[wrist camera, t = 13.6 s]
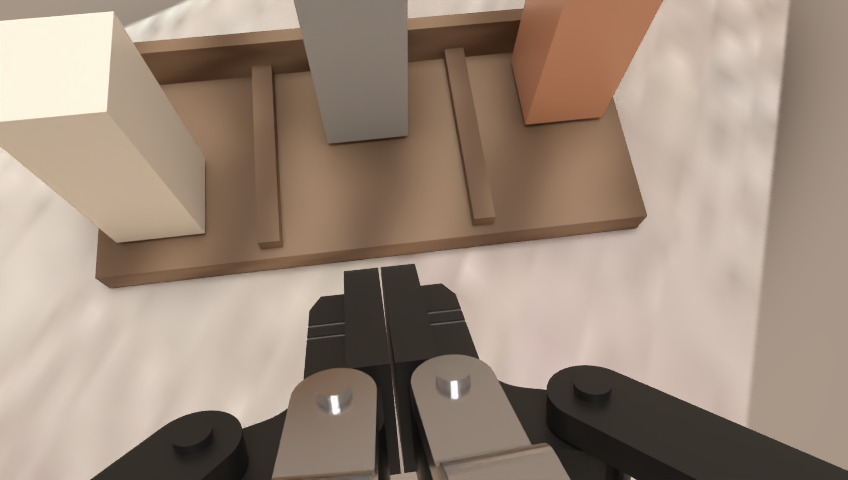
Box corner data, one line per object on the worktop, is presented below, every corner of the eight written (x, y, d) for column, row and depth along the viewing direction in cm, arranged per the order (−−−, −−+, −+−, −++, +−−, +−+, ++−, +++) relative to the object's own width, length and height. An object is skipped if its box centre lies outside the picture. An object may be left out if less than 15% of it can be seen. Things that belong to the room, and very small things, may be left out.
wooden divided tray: (110, 288, 29) (66, 259, 26) (121, 95, 33) (85, 46, 30) (636, 227, 31) (667, 192, 27) (587, 52, 35) (608, 1, 31)
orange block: (525, 124, 31) (575, -29, 22) (510, 60, 33) (551, -109, 23) (601, 116, 31) (682, -38, 22) (584, 53, 33) (653, -117, 24)
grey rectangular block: (327, 143, 30) (292, -7, 21) (322, 77, 32) (286, -91, 23) (407, 135, 31) (407, -16, 21) (398, 70, 32) (394, -99, 23)
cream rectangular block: (116, 242, 28) (-27, 123, 19) (121, 166, 30) (-10, 21, 20) (204, 233, 29) (106, 111, 19) (205, 158, 30) (113, 11, 21)
